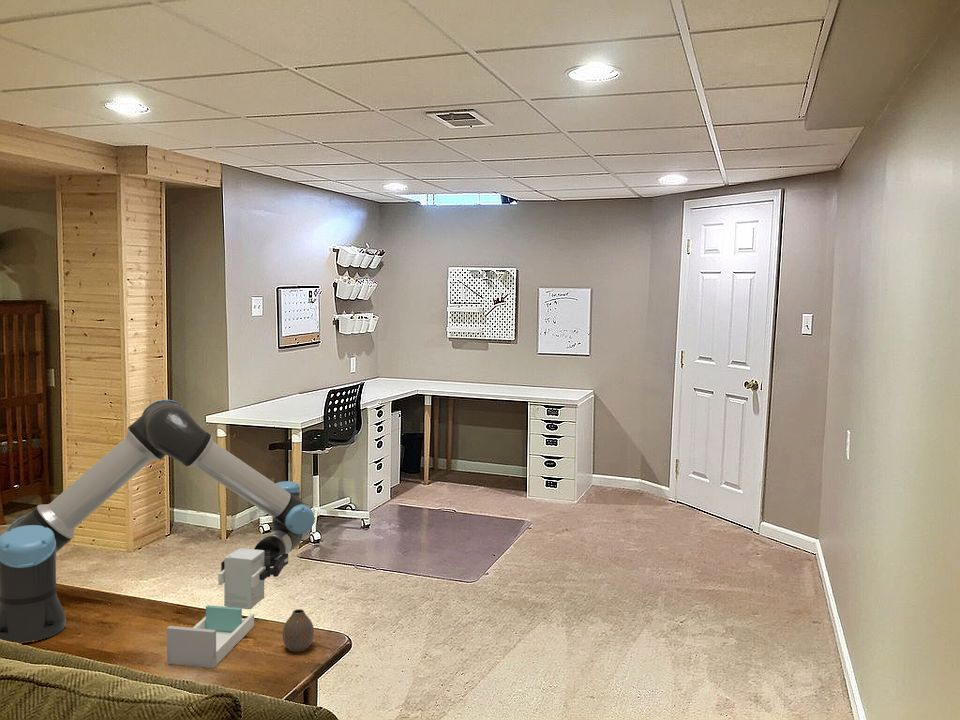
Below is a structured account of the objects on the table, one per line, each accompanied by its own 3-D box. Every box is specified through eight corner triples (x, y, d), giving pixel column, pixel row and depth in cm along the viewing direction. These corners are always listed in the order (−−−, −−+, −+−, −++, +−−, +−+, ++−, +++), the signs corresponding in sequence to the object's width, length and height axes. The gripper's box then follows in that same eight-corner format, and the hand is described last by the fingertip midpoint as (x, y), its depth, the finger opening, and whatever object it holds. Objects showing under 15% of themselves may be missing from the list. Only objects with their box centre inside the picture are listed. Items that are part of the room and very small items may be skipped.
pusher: (207, 627, 187) (207, 605, 186) (241, 630, 186) (241, 608, 185) (205, 629, 186) (205, 606, 185) (239, 632, 185) (239, 609, 184)
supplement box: (251, 610, 192) (251, 559, 191) (223, 606, 193) (223, 556, 192) (265, 598, 199) (265, 549, 198) (238, 595, 201) (238, 547, 199)
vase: (302, 657, 175) (303, 619, 174) (276, 652, 177) (276, 614, 176) (319, 644, 181) (320, 608, 181) (293, 639, 184) (294, 602, 183)
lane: (212, 622, 191) (212, 590, 190) (254, 626, 190) (254, 593, 189) (167, 663, 171) (166, 628, 170) (213, 668, 169) (213, 632, 168)
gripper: (309, 565, 212) (276, 599, 190) (236, 559, 215) (196, 592, 192) (309, 538, 212) (276, 568, 189) (236, 532, 214) (195, 562, 192)
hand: (236, 580), depth 191 cm, fingers closed on supplement box, 7 cm apart
